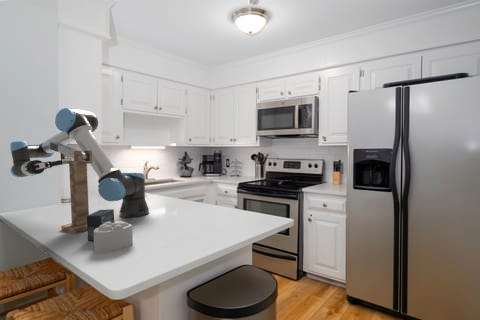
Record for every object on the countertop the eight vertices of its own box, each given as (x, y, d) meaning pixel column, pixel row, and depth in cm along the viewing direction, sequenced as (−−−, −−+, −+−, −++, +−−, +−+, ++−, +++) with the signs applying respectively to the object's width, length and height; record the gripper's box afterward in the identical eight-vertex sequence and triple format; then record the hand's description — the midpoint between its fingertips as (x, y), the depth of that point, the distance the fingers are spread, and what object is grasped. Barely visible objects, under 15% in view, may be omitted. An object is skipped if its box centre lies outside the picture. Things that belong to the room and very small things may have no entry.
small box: (100, 232, 121) (100, 209, 120) (115, 232, 120) (114, 209, 120) (86, 241, 110) (85, 215, 109) (102, 241, 110) (101, 215, 109)
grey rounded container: (136, 243, 107) (135, 221, 106) (103, 254, 96) (102, 230, 96) (120, 238, 113) (120, 217, 112) (88, 248, 102) (87, 225, 102)
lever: (48, 148, 133) (49, 141, 132) (55, 148, 136) (56, 142, 135) (81, 161, 122) (82, 154, 121) (88, 160, 125) (89, 154, 124)
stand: (60, 230, 125) (56, 150, 123) (84, 223, 135) (80, 150, 133) (77, 233, 120) (73, 150, 118) (100, 226, 129) (97, 150, 127)
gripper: (58, 169, 160) (82, 165, 151) (8, 179, 137) (33, 175, 128) (55, 157, 159) (79, 151, 150) (4, 165, 136) (29, 159, 127)
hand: (58, 162), depth 139 cm, fingers open, 13 cm apart
